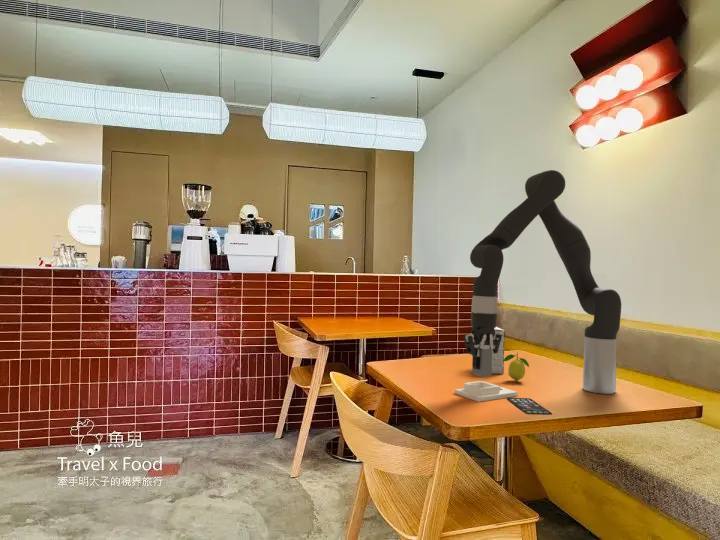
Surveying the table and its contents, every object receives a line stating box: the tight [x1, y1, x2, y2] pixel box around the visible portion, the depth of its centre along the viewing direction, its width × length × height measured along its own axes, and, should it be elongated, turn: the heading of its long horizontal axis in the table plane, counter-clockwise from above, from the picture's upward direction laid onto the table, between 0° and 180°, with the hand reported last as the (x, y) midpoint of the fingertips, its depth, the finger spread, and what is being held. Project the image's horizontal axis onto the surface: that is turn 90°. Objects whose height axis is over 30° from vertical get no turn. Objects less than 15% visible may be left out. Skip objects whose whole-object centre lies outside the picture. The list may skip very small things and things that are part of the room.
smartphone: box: [506, 397, 553, 416], centre depth 132 cm, size 7×1×15 cm
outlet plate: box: [454, 380, 519, 403], centre depth 143 cm, size 16×10×3 cm, turn 120°
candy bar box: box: [491, 326, 506, 375], centre depth 179 cm, size 11×5×16 cm, turn 179°
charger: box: [471, 345, 492, 378], centre depth 142 cm, size 4×4×9 cm
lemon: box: [504, 352, 530, 382], centre depth 162 cm, size 7×6×10 cm
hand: (481, 368), depth 142 cm, fingers closed on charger, 4 cm apart
